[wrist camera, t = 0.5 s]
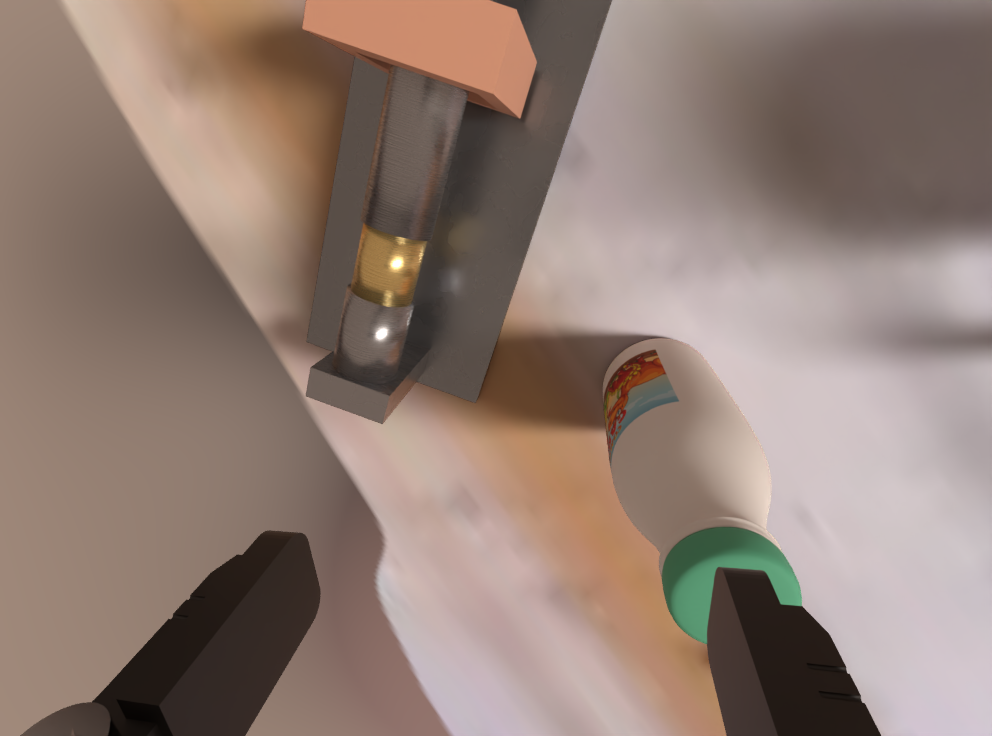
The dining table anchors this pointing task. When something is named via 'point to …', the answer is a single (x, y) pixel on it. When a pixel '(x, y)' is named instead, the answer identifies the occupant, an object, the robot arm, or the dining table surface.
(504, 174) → the rail
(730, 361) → the dining table surface
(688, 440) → the milk bottle
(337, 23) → the collar
